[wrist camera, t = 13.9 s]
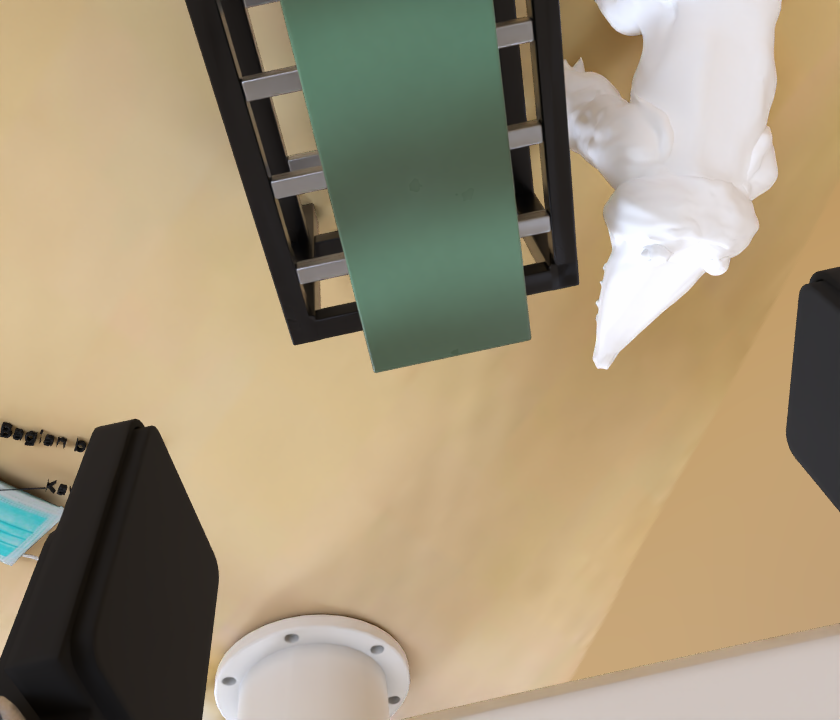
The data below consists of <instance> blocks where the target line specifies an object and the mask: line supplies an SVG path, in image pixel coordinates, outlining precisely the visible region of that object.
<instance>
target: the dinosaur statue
mask: <svg viewBox="0 0 840 720" xmlns="http://www.w3.org/2000/svg"><path fill="white" fill-rule="evenodd" d="M594 1H595V2H596V3H597V5H598V7H599V9H600V11H601V12H602V14H603V15H604V16H605V18H606V19H607V21H608V22H609V23H610V25H611V26H612V27H613V28H614V29H615V30H616V31H617V32H619V33H621V34H623V35H627V36H637V35H641V34H642V35H643V51H642V54H641V58H640V61H639V64H638V66H637V69H636V71H635V74H634V76H633V80H632V89H631V94H630V96H631V99H630V104H629V103H628V102H627V101H626V100H625V99H622V97H621V96H620V93H619V91H618V90H617V89H616V87H615V86H614V85H612V84H611V82H610V81H609V80H608V79H606V78H605V77H604V76H602V75H600V74H598V73H596V72H592V71H590V72H585V69H584V64H583V60H582V57H580V58H579V60H578V61H577V62H576V63H575V65H574V66H573V67H571V66H570V65H569V64H568V62H567V61H566V59H565V60H564V61H563V62H564V76H565V90H566V104H567V119H568V133H569V147H570V150H572V151H574V152H576V153H578V154H581V156H582V157H583V158H584V159H585V160H586V161H587V162H588V163H590V164H591V165H592V166H594V167H595V168H596V169H598V170H599V172H600V173H601V174H602V175H603V177H604V178H605V179H606V180H607V182H608V183H609V184H610V185H611V186H612V187H613V188H614V189H615V191H614V193H613V194H612V195H611V197H610V198H609V200H608V201H607V203H606V204H605V206H604V209H603V217H604V220H605V223H606V225H607V227H608V231H609V235H610V238H611V244H612V252H611V255H610V257H609V259H608V262H607V263H605V264H604V266H603V269H604V271H605V272H604V277H603V281H600V283H601V286H602V288H601V292H600V297H599V299H598V300H597V301H596V305H597V306H598V308H599V310H598V314H597V316H596V318H595V319H596V321H597V329H596V335H597V339H596V344H595V349H594V354H593V361H594V363H595V365H596V367H597V368H598V369H600V368H603V369H608V368H609V367H610V365H611V364H612V362H613V361H614V359H615V358H616V356H617V355H618V353H619V352H620V351H621V350H622V349H623V348H624V347H625V346H626V345H627V344H629V343H630V342H631V341H632V340H633V339H634V338H635V337H636V336H637V335H638V334H639V333H640V332H641V331H643V330H644V329H645V328H646V327H647V326H648V325H649V324H650V323H651V322H653V321H654V320H655V319H656V318H657V317H658V316H659V315H660V314H661V313H662V312H663V311H665V310H666V309H667V308H668V307H670V306H671V305H672V304H673V303H675V302H676V301H677V300H678V299H680V298H681V297H682V296H683V295H684V294H685V293H686V292H687V291H688V290H689V289H690V288H691V287H692V286H693V285H694V284H695V283H696V282H697V280H698V279H699V278H700V277H701V276H702V275H703V274H704V273H705V272H707V273H709V274H711V275H721V274H723V273H724V272H726V270H727V269H728V267H729V263H730V258H732V257H734V256H736V255H738V254H740V253H741V252H742V251H743V250H744V249H745V248H746V247H747V246H748V245H749V244H750V242H751V240H752V238H753V236H754V235H755V233H756V232H757V231H758V229H759V221H758V219H757V217H756V214H755V211H754V207H753V203H752V200H753V199H755V198H756V197H757V196H759V195H761V194H763V193H764V192H766V191H767V190H769V189H770V188H771V187H772V185H773V184H774V183H775V181H776V179H777V177H778V168H777V162H776V157H775V150H774V146H773V144H772V133H771V129H770V127H769V126H766V124H767V120H768V115H769V111H770V108H771V105H772V102H773V99H774V95H775V91H776V85H777V74H776V67H775V61H774V33H775V25H776V22H777V19H778V17H779V13H780V11H781V1H782V0H594Z"/></svg>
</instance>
